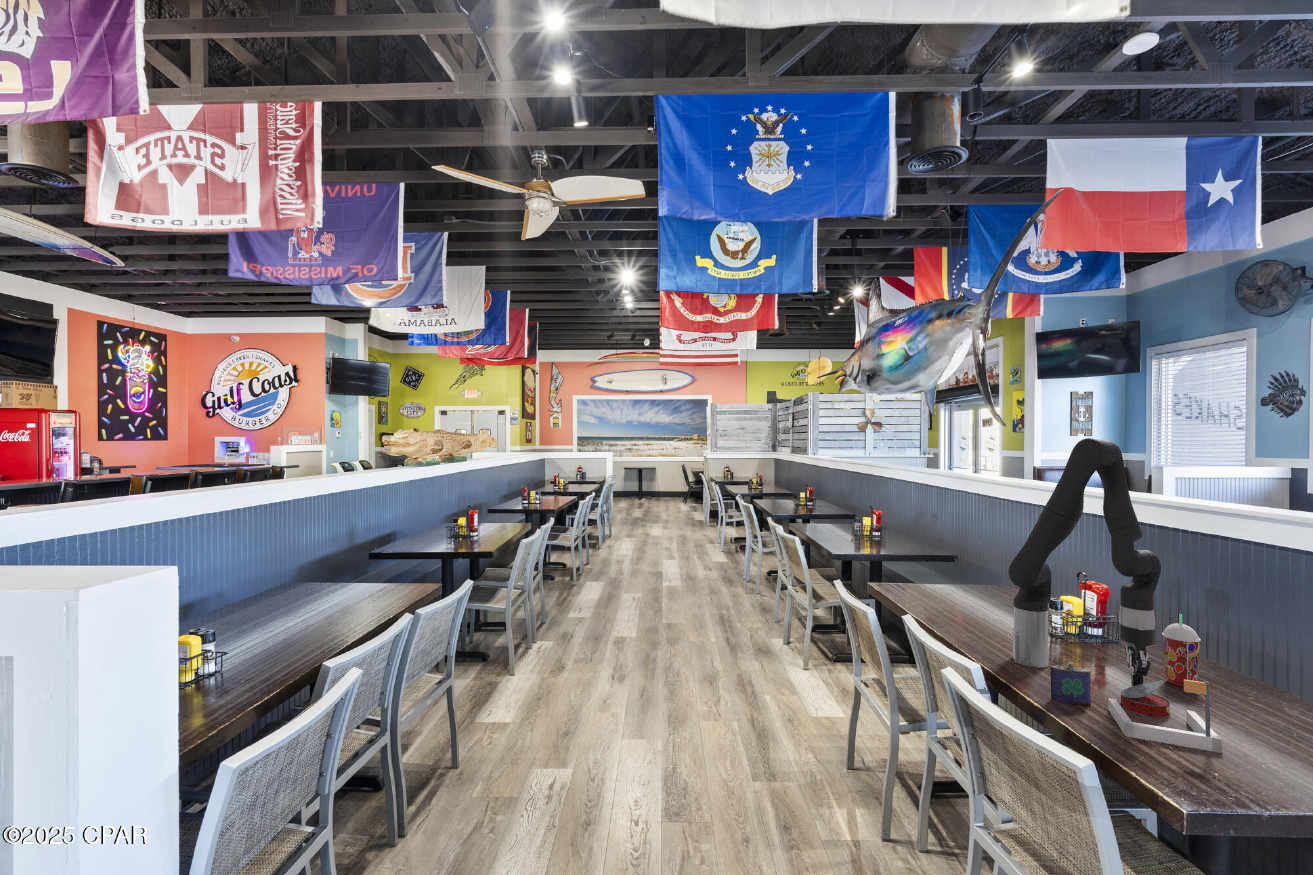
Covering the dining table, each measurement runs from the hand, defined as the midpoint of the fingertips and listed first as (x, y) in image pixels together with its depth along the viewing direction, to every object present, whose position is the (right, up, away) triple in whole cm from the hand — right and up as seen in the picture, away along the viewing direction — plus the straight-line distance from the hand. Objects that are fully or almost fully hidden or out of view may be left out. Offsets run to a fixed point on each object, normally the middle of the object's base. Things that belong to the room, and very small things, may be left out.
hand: (1137, 688), depth 158 cm
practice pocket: (-8, -3, -16) cm, 19 cm away
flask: (-19, -3, -2) cm, 20 cm away
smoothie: (+22, -4, +11) cm, 25 cm away
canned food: (-3, -3, -6) cm, 7 cm away
